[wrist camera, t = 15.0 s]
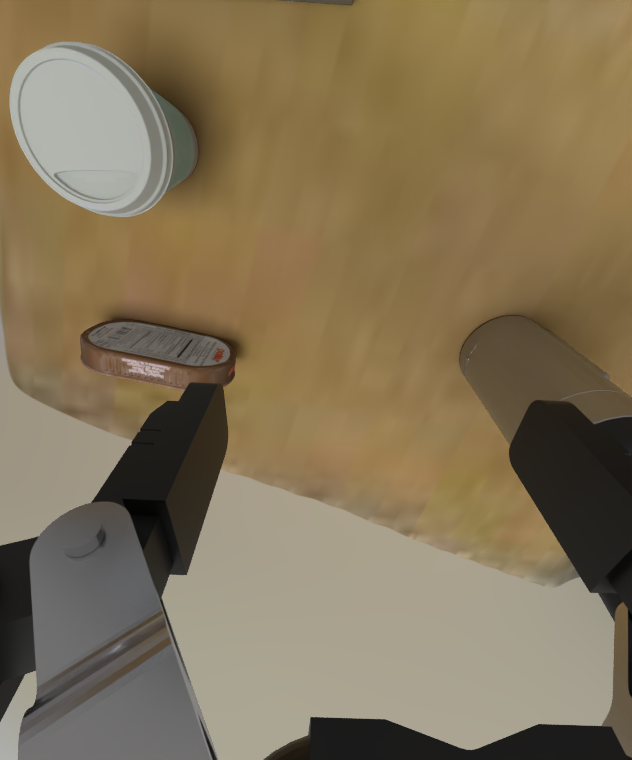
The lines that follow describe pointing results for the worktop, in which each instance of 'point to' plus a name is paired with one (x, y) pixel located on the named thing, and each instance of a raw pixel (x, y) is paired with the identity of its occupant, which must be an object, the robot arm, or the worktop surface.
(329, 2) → the large crate
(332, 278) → the worktop surface
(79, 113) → the coffee cup
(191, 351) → the tin
